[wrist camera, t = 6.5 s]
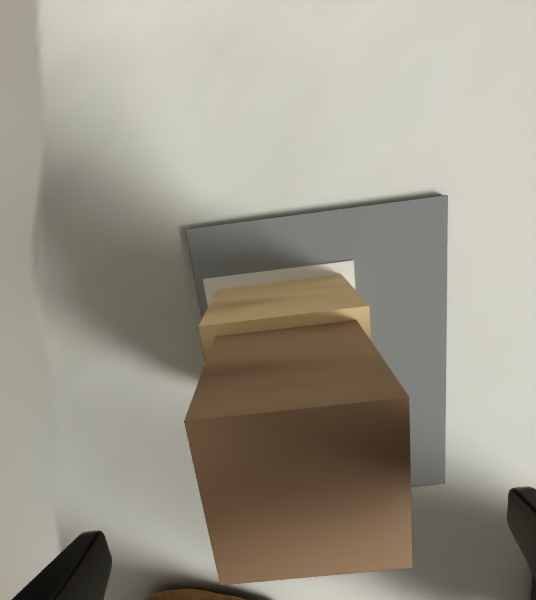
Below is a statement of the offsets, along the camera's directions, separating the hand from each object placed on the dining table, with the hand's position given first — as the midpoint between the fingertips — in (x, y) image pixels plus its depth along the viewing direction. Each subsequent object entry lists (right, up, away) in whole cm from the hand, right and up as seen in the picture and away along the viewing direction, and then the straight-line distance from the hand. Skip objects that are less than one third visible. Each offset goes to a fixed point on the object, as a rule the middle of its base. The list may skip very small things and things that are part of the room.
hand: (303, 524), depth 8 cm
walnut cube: (0, +2, +5) cm, 6 cm away
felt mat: (+2, +1, +11) cm, 12 cm away
